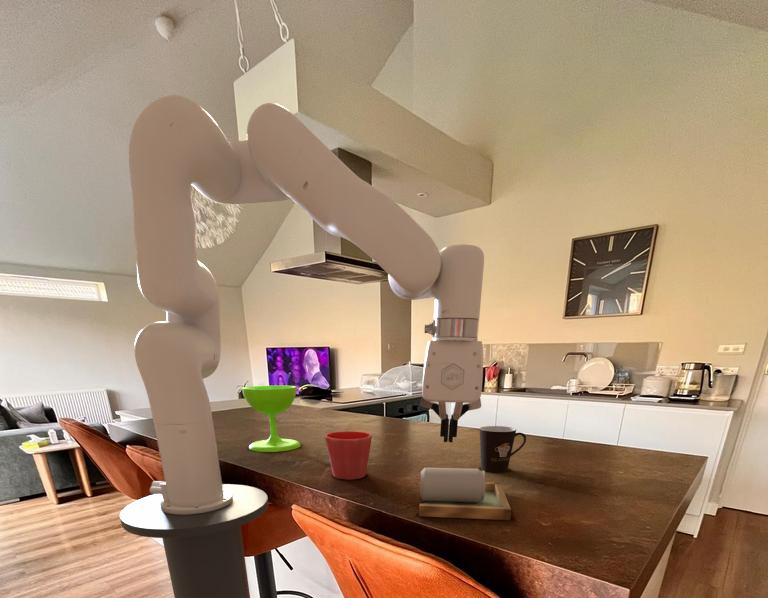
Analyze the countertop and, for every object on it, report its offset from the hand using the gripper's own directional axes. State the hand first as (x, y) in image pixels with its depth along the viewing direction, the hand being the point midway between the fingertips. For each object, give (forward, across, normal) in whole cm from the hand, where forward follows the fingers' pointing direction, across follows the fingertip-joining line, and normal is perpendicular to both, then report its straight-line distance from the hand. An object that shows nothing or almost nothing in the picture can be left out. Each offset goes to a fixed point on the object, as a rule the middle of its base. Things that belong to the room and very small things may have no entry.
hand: (448, 440), depth 77 cm
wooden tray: (+12, +4, 0) cm, 12 cm away
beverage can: (+8, -5, 0) cm, 10 cm away
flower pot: (+13, -22, +17) cm, 31 cm away
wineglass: (+13, -53, +48) cm, 73 cm away
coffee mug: (+12, +14, +27) cm, 33 cm away
